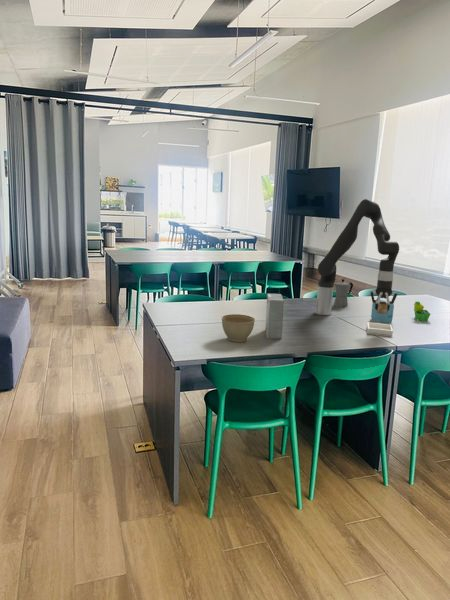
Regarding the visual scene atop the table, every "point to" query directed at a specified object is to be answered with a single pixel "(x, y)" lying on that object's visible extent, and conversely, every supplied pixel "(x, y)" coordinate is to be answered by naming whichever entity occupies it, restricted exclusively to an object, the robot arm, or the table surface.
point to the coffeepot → (342, 293)
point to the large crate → (379, 329)
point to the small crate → (382, 307)
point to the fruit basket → (420, 312)
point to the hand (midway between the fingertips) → (381, 310)
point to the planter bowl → (237, 326)
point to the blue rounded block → (382, 317)
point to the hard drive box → (274, 316)
